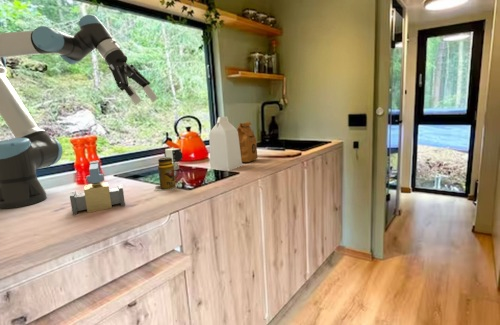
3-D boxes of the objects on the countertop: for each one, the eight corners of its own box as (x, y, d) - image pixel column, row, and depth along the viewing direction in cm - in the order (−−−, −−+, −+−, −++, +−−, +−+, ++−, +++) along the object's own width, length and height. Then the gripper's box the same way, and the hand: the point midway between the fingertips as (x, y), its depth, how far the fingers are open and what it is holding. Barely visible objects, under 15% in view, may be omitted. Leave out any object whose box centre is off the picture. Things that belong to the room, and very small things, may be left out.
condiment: (176, 188, 117) (173, 158, 114) (154, 191, 115) (150, 161, 113) (176, 184, 124) (173, 156, 121) (155, 186, 122) (152, 158, 120)
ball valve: (72, 215, 92) (68, 188, 90) (74, 209, 98) (70, 184, 97) (125, 205, 98) (121, 180, 97) (123, 200, 105) (120, 176, 103)
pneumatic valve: (176, 171, 150) (173, 148, 148) (165, 169, 159) (163, 146, 157) (185, 169, 154) (183, 146, 152) (174, 167, 162) (172, 145, 160)
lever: (87, 184, 93) (84, 169, 92) (88, 175, 108) (86, 161, 108) (104, 182, 96) (102, 167, 95) (103, 173, 111) (101, 160, 110)
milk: (228, 170, 145) (224, 117, 140) (210, 169, 151) (206, 118, 146) (242, 165, 155) (238, 115, 150) (224, 164, 161) (220, 116, 156)
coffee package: (260, 159, 169) (258, 121, 165) (248, 164, 159) (246, 123, 155) (246, 159, 175) (243, 121, 171) (233, 163, 165) (231, 123, 161)
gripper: (98, 44, 100) (138, 97, 103) (136, 51, 123) (167, 94, 126) (84, 58, 102) (123, 109, 105) (124, 62, 125) (154, 104, 128)
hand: (147, 101), depth 116 cm, fingers open, 13 cm apart
